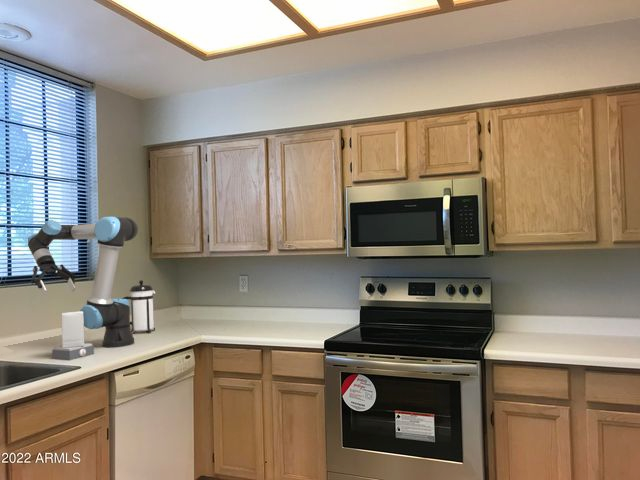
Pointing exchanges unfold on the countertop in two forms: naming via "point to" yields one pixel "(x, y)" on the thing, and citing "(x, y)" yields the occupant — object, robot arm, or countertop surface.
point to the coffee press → (141, 307)
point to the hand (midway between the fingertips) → (59, 291)
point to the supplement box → (72, 329)
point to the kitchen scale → (72, 352)
